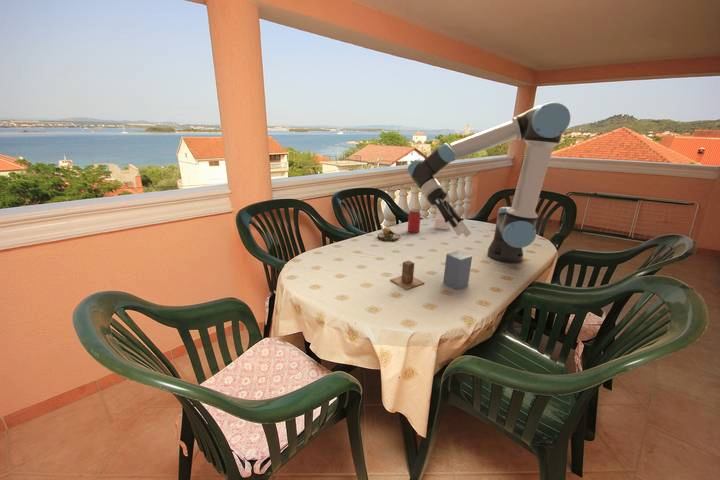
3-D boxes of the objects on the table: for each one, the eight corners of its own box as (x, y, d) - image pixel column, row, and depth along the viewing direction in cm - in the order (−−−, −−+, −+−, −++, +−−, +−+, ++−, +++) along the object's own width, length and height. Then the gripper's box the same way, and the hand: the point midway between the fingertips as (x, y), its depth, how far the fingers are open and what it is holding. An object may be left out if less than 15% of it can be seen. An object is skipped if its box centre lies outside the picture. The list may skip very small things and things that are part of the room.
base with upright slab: (431, 227, 190) (433, 207, 186) (438, 224, 196) (440, 205, 192) (445, 230, 184) (448, 210, 180) (452, 227, 191) (454, 207, 187)
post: (407, 275, 126) (408, 256, 124) (424, 283, 119) (426, 264, 117) (390, 280, 121) (391, 261, 119) (406, 289, 114) (408, 269, 112)
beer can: (419, 233, 178) (420, 212, 174) (407, 232, 179) (408, 211, 175) (419, 230, 184) (421, 209, 180) (407, 229, 185) (409, 209, 181)
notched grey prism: (454, 278, 124) (457, 250, 120) (467, 285, 119) (472, 256, 115) (443, 283, 120) (446, 254, 116) (456, 289, 115) (461, 259, 111)
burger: (397, 243, 162) (397, 229, 160) (374, 240, 166) (375, 226, 163) (401, 236, 173) (402, 223, 171) (380, 233, 177) (381, 220, 174)
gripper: (435, 202, 142) (464, 240, 135) (416, 193, 120) (449, 239, 114) (449, 191, 139) (479, 230, 132) (432, 180, 117) (466, 226, 111)
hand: (465, 234), depth 123 cm, fingers open, 13 cm apart
